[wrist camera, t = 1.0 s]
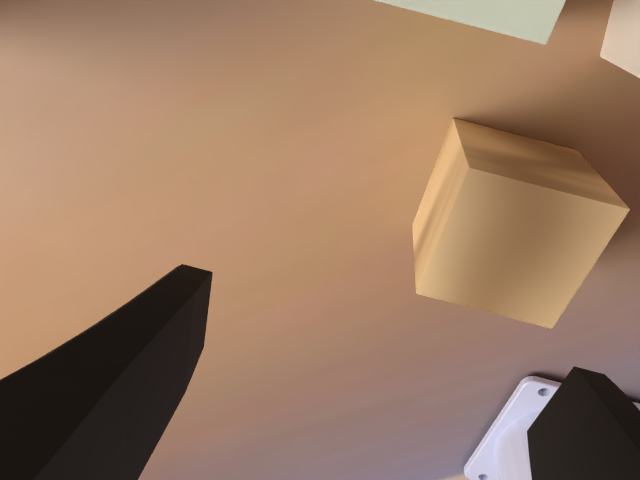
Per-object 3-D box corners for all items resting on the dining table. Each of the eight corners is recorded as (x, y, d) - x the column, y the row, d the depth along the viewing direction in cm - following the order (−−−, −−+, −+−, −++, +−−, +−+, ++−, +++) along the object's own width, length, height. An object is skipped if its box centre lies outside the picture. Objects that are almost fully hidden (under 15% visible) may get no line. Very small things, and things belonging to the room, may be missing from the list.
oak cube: (577, 149, 17) (630, 209, 13) (521, 252, 19) (551, 328, 15) (452, 117, 17) (469, 167, 13) (412, 224, 19) (416, 293, 15)
